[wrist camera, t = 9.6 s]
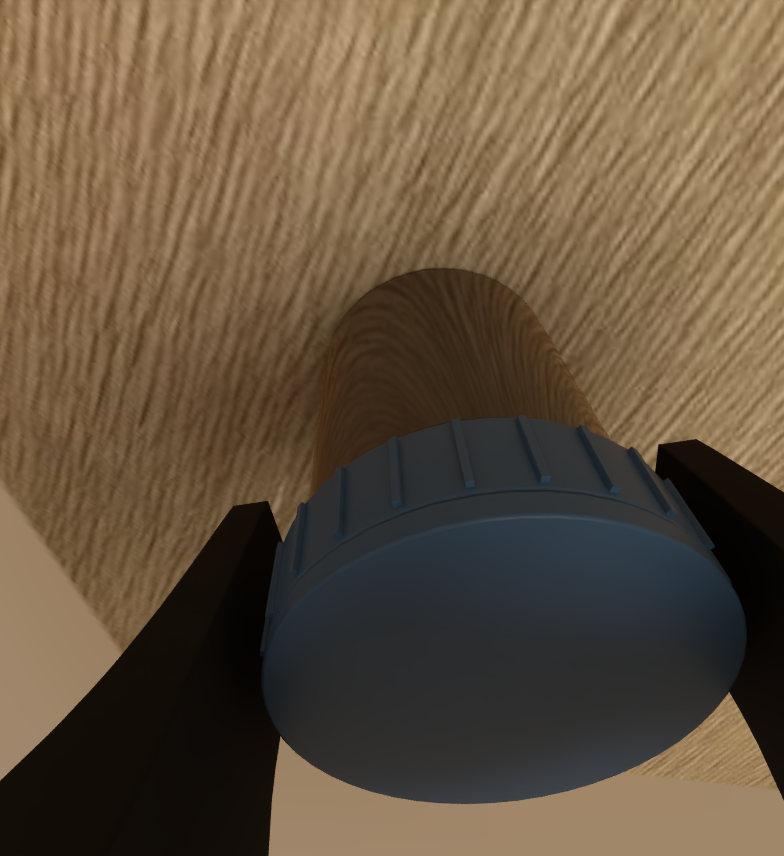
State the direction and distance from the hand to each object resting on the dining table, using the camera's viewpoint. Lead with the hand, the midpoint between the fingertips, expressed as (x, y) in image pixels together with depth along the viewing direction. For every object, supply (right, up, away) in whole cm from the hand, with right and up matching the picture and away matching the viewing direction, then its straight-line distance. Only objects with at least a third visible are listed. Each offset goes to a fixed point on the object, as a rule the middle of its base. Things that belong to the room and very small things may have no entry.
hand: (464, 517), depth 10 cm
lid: (0, -2, -2) cm, 3 cm away
